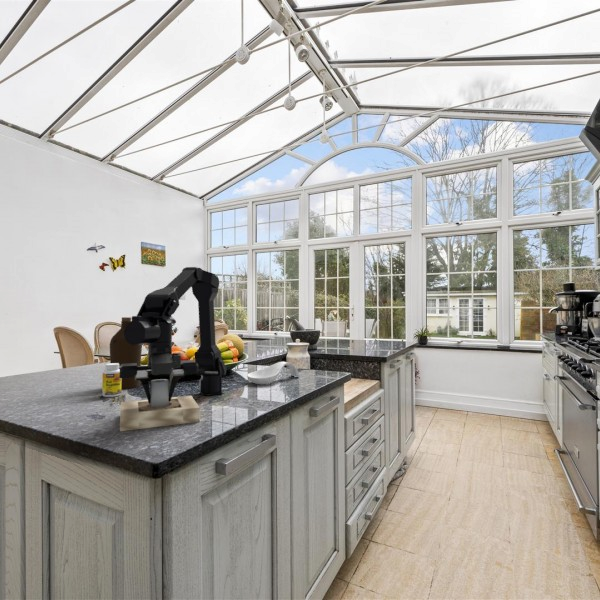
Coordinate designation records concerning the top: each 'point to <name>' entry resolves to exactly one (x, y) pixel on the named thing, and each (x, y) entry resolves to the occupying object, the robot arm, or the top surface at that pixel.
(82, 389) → the top surface
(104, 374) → the supplement bottle
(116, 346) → the olive oil
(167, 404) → the cylinder
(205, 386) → the robot arm
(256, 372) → the spoon rest
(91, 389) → the top surface
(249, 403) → the top surface
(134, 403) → the jig plate
